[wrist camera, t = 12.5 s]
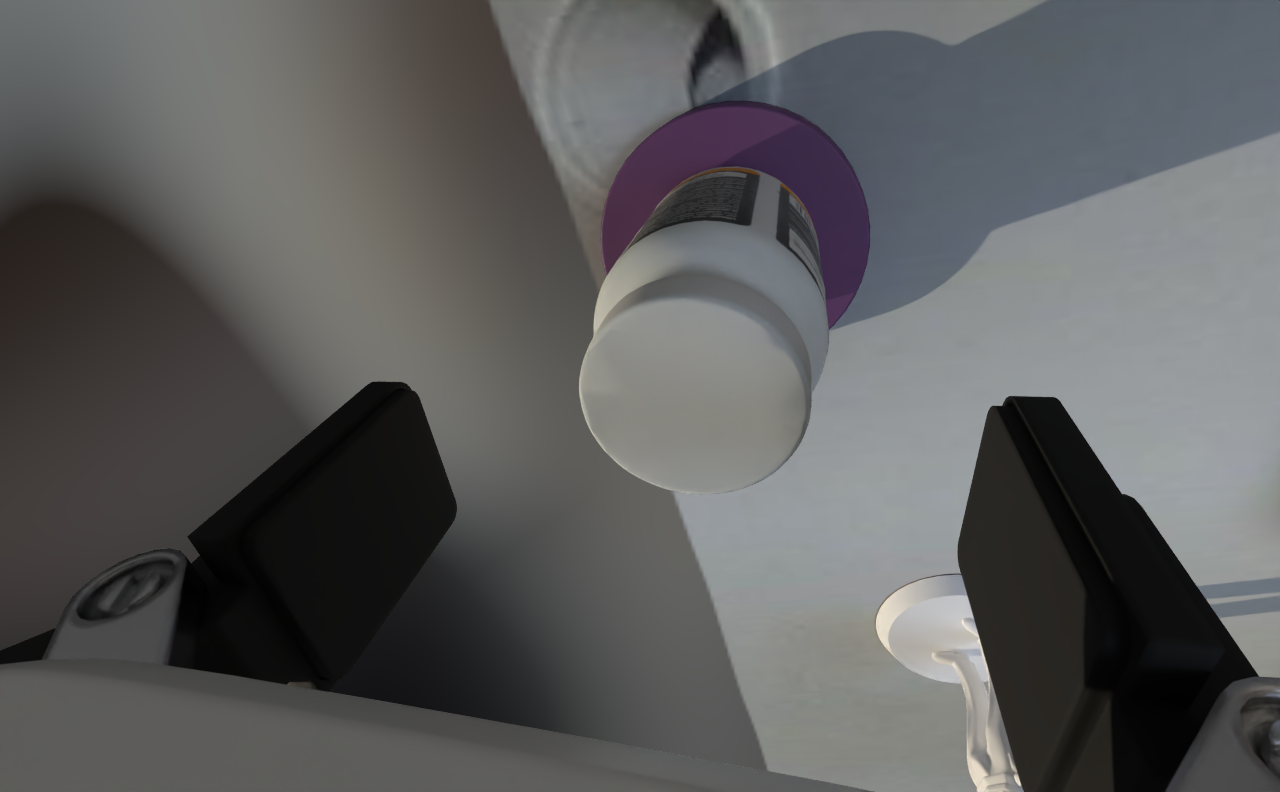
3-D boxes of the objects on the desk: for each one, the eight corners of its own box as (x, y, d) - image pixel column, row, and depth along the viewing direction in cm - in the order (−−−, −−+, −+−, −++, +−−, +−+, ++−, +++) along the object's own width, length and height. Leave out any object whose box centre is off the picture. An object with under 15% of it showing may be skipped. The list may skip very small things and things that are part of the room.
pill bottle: (632, 301, 22) (533, 468, 14) (672, 138, 19) (575, 227, 10) (782, 348, 21) (774, 548, 13) (848, 191, 18) (893, 325, 10)
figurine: (930, 552, 26) (1014, 873, 16) (1080, 614, 26) (1255, 974, 16) (847, 640, 30) (873, 940, 20) (977, 694, 30) (1066, 1021, 20)
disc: (591, 114, 20) (581, 118, 19) (879, 86, 18) (884, 89, 17) (624, 354, 24) (617, 368, 23) (856, 355, 22) (859, 370, 21)
